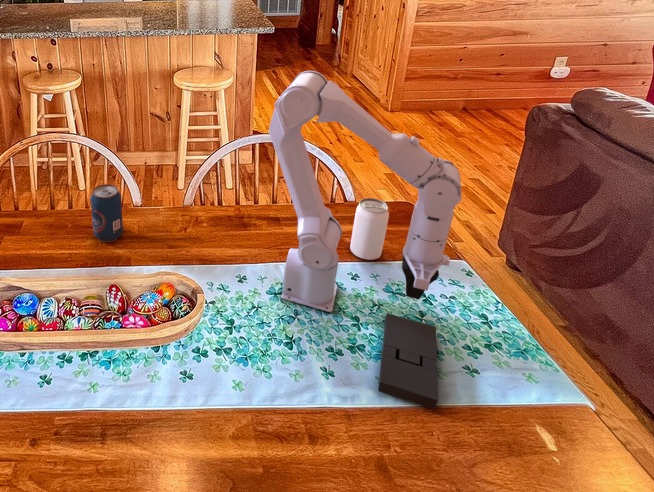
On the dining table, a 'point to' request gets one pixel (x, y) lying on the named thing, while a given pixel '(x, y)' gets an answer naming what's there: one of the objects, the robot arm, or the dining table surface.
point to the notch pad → (408, 379)
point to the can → (369, 229)
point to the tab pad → (410, 339)
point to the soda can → (107, 212)
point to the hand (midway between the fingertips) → (412, 295)
